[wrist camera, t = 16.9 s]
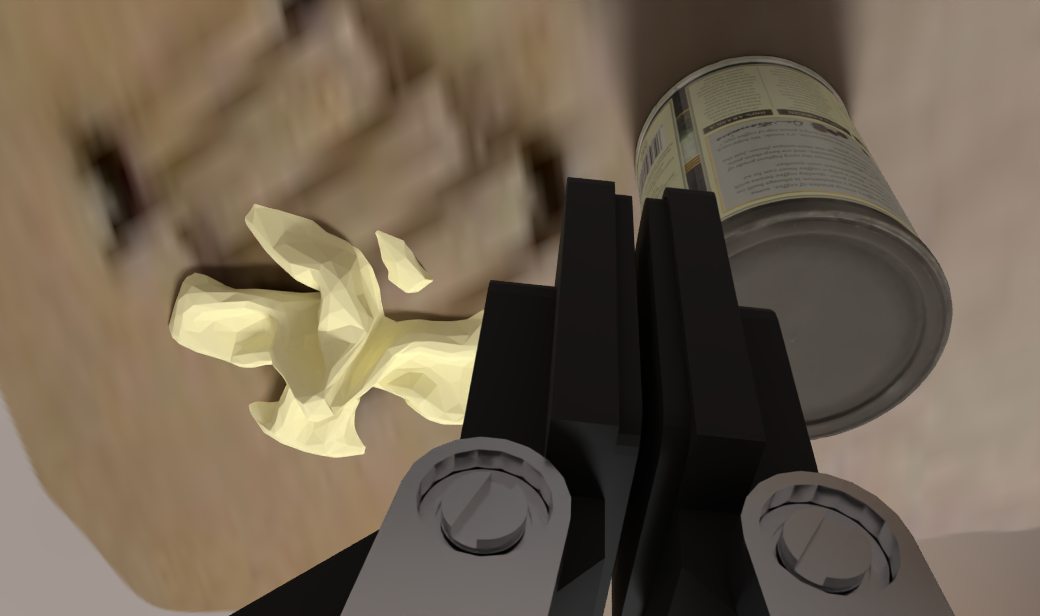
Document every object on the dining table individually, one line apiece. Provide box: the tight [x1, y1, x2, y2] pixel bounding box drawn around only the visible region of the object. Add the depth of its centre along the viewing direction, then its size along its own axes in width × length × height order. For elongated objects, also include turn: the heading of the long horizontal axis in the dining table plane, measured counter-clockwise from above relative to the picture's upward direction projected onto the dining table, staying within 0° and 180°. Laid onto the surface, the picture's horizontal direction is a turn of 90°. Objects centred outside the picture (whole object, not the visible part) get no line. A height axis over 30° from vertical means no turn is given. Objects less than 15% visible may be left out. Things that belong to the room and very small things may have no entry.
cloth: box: [169, 204, 484, 458], centre depth 48 cm, size 22×18×6 cm
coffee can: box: [635, 56, 953, 440], centre depth 36 cm, size 10×10×14 cm
